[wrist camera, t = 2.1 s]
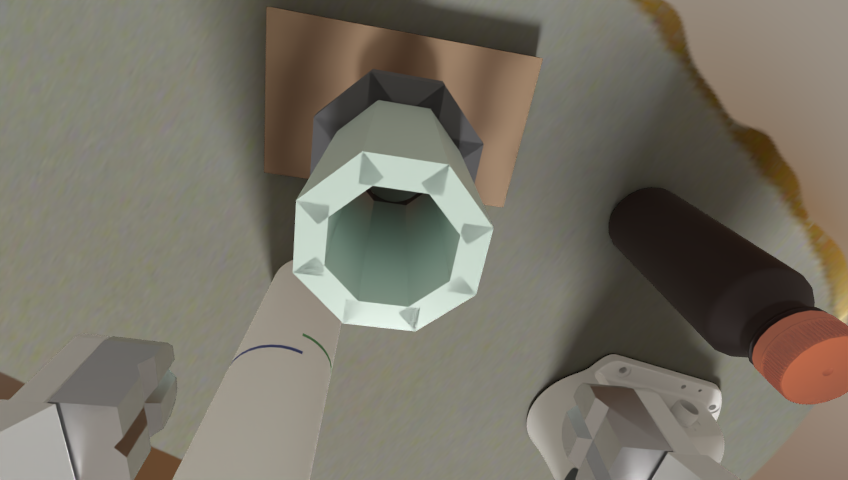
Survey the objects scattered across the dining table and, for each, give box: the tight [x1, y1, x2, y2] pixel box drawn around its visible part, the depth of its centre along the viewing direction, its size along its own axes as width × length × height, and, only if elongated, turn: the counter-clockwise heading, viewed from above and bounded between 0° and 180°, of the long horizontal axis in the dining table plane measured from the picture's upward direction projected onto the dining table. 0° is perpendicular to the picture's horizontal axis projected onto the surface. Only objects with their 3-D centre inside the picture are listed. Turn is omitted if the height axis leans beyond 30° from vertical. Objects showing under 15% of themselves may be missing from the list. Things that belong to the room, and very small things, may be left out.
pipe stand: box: [264, 7, 543, 207], centre depth 29 cm, size 20×12×16 cm, turn 80°
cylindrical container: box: [173, 260, 341, 480], centre depth 32 cm, size 7×7×25 cm
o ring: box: [310, 69, 484, 205], centre depth 24 cm, size 9×9×2 cm
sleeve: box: [293, 100, 494, 331], centre depth 19 cm, size 6×6×10 cm
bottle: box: [609, 187, 848, 405], centre depth 32 cm, size 7×7×20 cm
